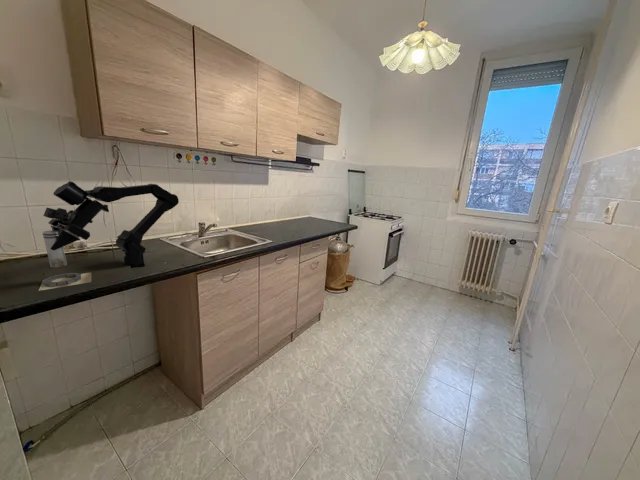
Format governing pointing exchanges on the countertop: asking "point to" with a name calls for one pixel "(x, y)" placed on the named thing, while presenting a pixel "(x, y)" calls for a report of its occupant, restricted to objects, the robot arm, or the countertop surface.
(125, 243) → the robot arm
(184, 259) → the countertop surface
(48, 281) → the ring
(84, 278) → the board
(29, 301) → the countertop surface
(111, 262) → the countertop surface
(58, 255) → the clear glass jar
